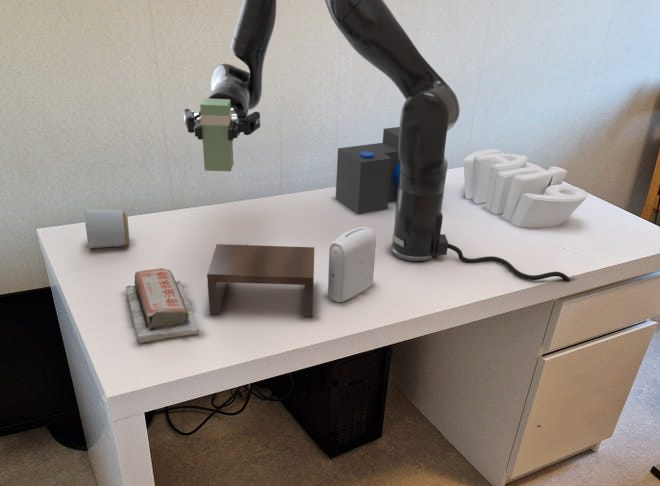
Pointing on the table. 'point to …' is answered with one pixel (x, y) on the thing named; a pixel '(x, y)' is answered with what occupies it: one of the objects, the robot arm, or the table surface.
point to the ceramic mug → (106, 228)
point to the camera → (369, 174)
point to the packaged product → (159, 306)
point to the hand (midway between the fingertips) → (215, 134)
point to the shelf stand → (260, 270)
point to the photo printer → (351, 263)
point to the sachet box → (216, 134)
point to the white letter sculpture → (520, 189)
